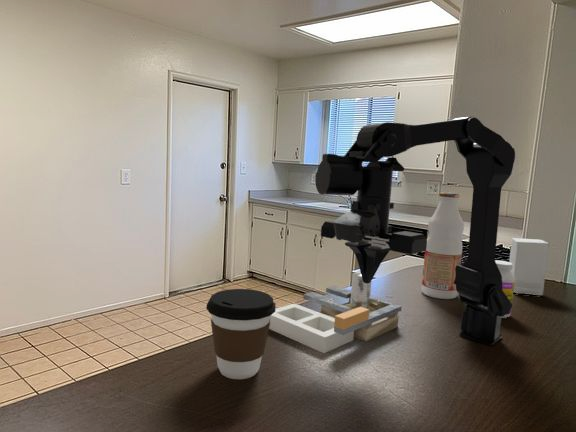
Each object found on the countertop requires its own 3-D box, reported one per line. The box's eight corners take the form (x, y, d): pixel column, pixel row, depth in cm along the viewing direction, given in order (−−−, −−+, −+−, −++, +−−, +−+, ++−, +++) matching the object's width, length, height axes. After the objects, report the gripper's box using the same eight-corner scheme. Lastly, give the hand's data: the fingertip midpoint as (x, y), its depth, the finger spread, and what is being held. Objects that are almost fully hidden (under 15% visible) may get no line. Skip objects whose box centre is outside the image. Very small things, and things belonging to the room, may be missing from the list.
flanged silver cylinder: (381, 326, 91) (385, 276, 89) (362, 334, 86) (366, 281, 84) (354, 316, 95) (357, 269, 94) (335, 323, 90) (338, 273, 89)
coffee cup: (244, 396, 61) (248, 315, 59) (189, 372, 66) (191, 298, 65) (285, 367, 70) (289, 297, 69) (233, 349, 76) (236, 283, 74)
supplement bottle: (497, 320, 98) (503, 266, 97) (474, 310, 104) (479, 259, 102) (516, 317, 101) (523, 264, 99) (493, 308, 107) (499, 258, 105)
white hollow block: (353, 340, 82) (354, 325, 82) (323, 353, 76) (324, 337, 76) (293, 316, 93) (294, 303, 93) (263, 326, 87) (264, 312, 87)
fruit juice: (432, 300, 111) (443, 193, 107) (414, 289, 120) (424, 190, 116) (464, 299, 113) (476, 194, 109) (444, 289, 122) (454, 192, 118)
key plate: (401, 310, 89) (402, 297, 89) (342, 335, 75) (344, 319, 74) (333, 289, 102) (334, 277, 101) (272, 307, 87) (273, 293, 87)
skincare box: (535, 291, 125) (542, 239, 123) (543, 298, 118) (551, 243, 116) (504, 288, 127) (511, 236, 125) (511, 294, 120) (517, 240, 118)
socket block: (397, 326, 91) (399, 309, 90) (366, 341, 82) (367, 322, 82) (351, 311, 99) (352, 295, 98) (318, 323, 90) (319, 305, 90)
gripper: (303, 192, 75) (298, 278, 77) (398, 203, 62) (389, 306, 64) (341, 191, 83) (336, 269, 85) (432, 201, 70) (423, 292, 72)
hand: (366, 282), depth 76 cm, fingers closed
